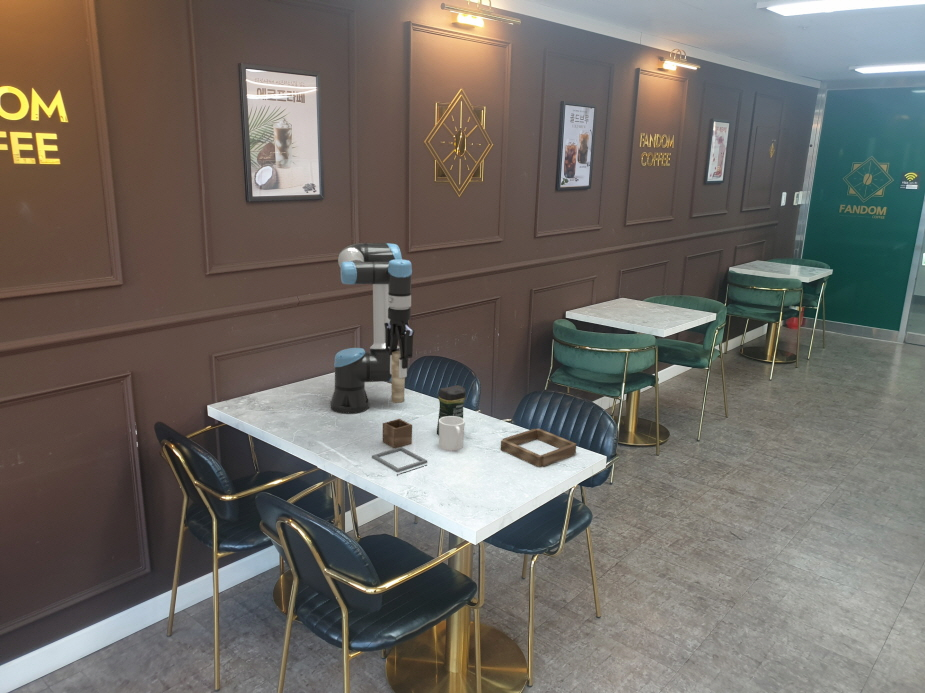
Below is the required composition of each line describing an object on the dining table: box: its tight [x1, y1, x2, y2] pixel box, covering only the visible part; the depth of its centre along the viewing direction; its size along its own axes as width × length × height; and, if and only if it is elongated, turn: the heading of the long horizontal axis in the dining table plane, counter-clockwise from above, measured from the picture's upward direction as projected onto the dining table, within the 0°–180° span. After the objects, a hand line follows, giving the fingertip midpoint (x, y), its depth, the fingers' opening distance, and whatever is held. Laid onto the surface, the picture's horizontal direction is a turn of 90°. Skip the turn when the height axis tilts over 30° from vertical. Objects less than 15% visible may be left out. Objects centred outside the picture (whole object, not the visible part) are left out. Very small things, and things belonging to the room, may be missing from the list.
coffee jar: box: [436, 384, 467, 436], centre depth 253 cm, size 10×8×19 cm
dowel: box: [390, 351, 406, 404], centre depth 238 cm, size 4×4×17 cm
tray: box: [371, 446, 428, 476], centre depth 230 cm, size 14×12×2 cm
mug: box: [438, 416, 466, 452], centre depth 241 cm, size 11×9×10 cm
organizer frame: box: [500, 427, 577, 468], centre depth 244 cm, size 19×19×4 cm
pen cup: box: [382, 418, 413, 449], centre depth 243 cm, size 7×7×8 cm
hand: (398, 375), depth 238 cm, fingers closed on dowel, 4 cm apart
